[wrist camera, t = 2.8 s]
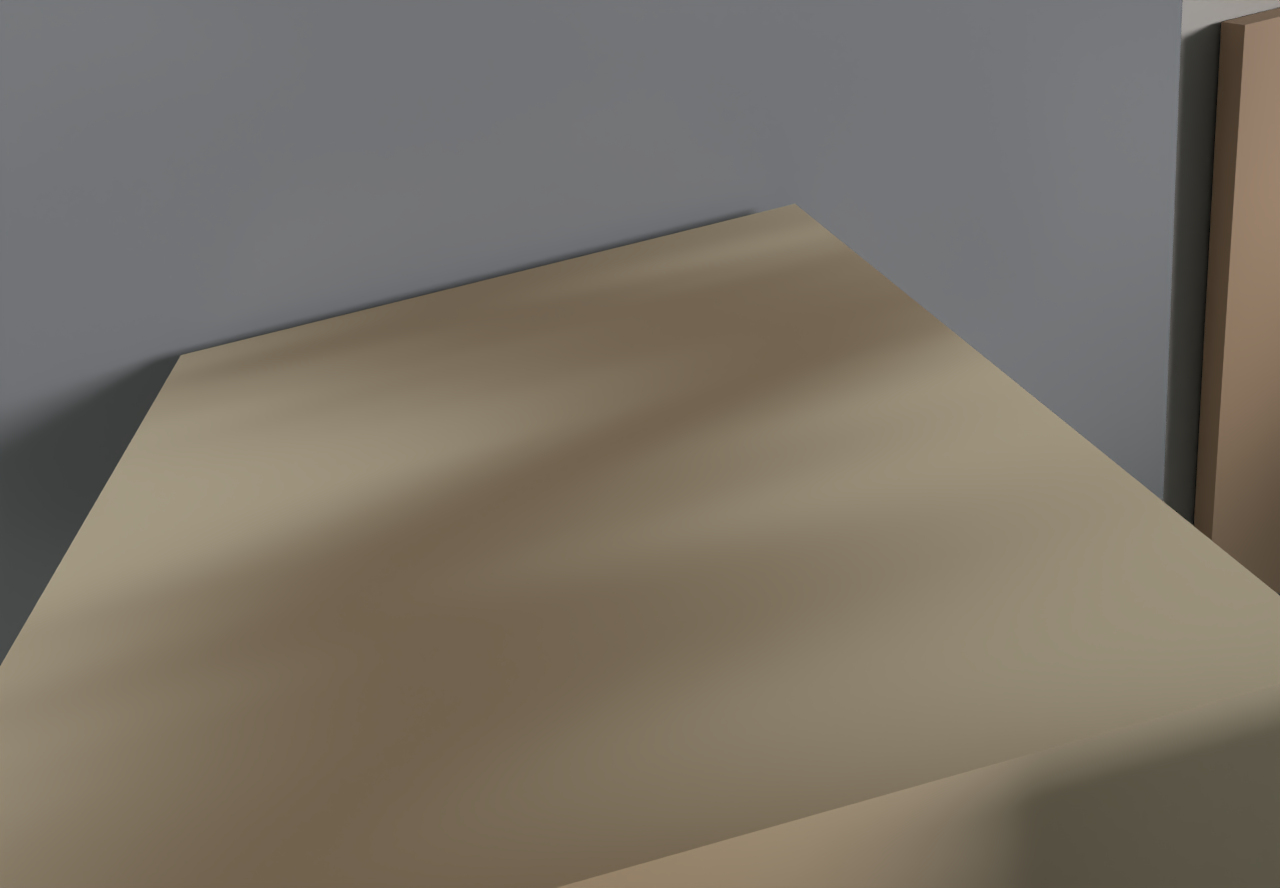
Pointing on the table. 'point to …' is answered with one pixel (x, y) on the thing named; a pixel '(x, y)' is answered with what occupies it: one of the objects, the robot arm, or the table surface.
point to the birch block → (636, 609)
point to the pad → (1244, 306)
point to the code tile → (558, 185)
